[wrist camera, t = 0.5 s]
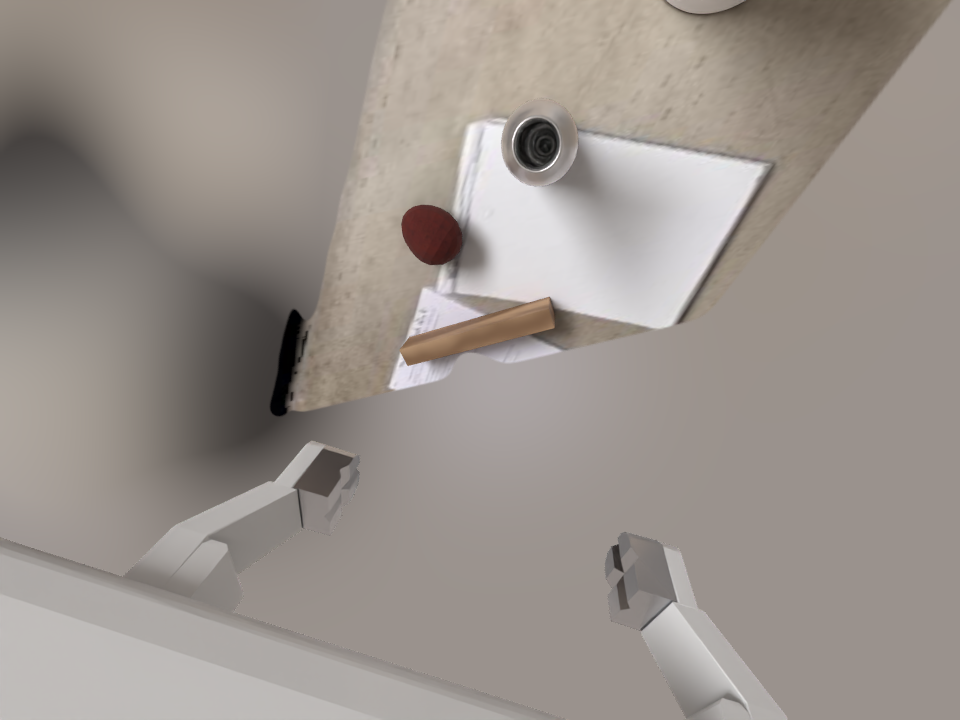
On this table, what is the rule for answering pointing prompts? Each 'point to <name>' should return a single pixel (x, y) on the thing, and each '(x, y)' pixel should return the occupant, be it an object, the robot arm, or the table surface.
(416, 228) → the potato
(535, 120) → the plastic bottle
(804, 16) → the table surface
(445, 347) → the board
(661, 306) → the table surface
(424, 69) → the table surface
